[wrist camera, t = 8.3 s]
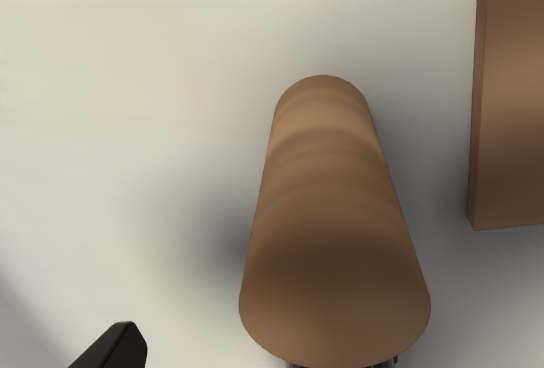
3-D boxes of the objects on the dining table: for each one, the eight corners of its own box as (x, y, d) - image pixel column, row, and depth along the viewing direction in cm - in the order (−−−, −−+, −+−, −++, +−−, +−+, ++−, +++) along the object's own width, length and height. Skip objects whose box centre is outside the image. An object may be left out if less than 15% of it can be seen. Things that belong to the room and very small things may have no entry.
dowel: (373, 156, 18) (431, 365, 9) (283, 169, 18) (261, 374, 10) (364, 66, 16) (429, 229, 7) (264, 85, 16) (216, 253, 8)
